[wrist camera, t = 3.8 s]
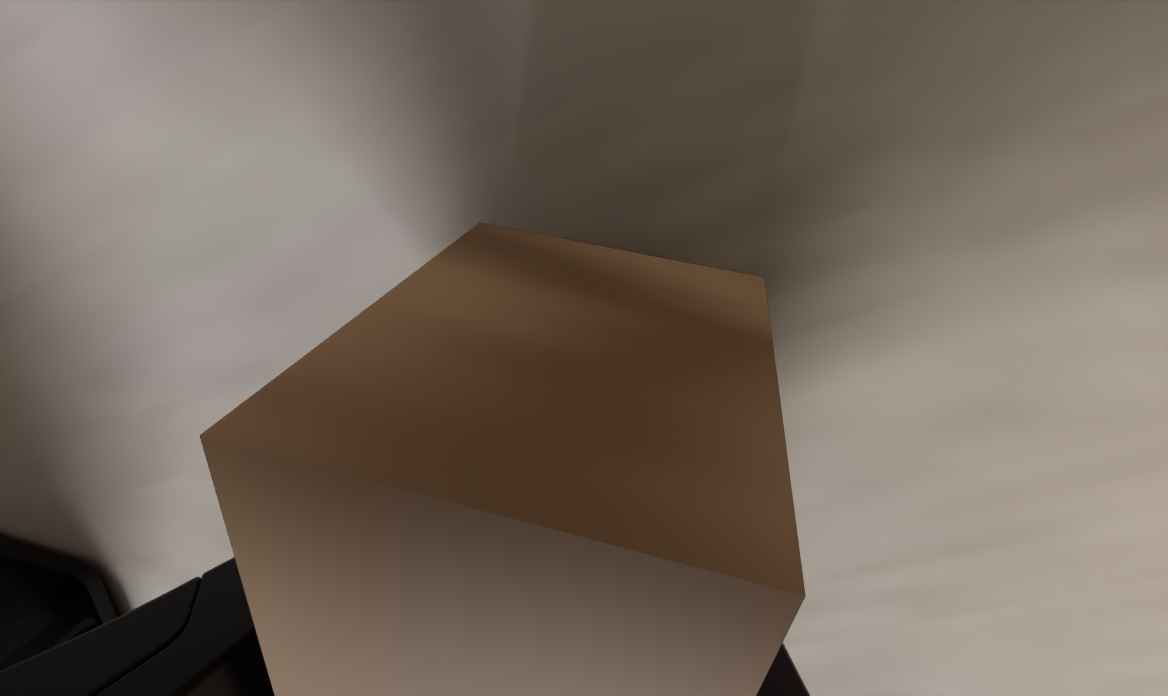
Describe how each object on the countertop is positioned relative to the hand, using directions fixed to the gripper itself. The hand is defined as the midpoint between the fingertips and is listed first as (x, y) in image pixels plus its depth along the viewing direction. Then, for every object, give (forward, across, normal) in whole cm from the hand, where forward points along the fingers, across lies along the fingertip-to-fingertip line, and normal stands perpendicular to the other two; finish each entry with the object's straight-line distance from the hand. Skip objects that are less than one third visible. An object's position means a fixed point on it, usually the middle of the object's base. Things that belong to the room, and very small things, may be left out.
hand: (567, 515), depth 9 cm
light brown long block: (+1, 0, +3) cm, 3 cm away
